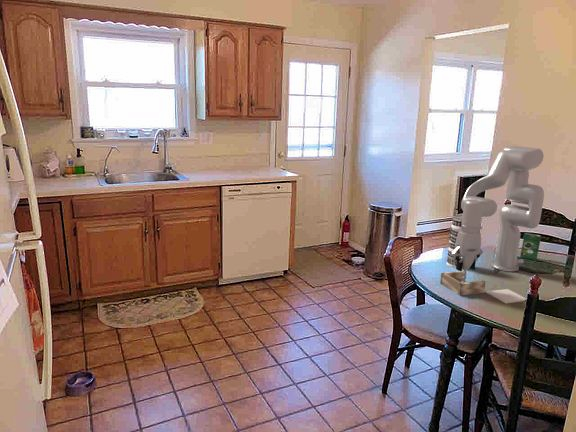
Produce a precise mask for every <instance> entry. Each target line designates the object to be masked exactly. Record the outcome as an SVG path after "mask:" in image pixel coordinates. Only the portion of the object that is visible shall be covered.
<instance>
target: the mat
mask: <svg viewBox="0 0 576 432" xmlns="http://www.w3.org/2000/svg"><path fill="white" fill-rule="evenodd" d="M486 294H488V295H490V296H491V297H493V298H495V299H497V300H498V301H500V302H503V303H504V304H513V303H520V302H526V301H525V300H526V299H527V298H526V297H524V296H522V295H521V294H518V293H517V292H514V291H512V290H510V289H509V288H505V289H496V290H488V291H486Z"/></svg>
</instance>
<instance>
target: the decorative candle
mask: <svg viewBox="0 0 576 432" xmlns="http://www.w3.org/2000/svg"><path fill="white" fill-rule="evenodd" d="M462 217H463V214H457V215H454V216H453V217H451V219H452V223H451V226H450V227H449V237H448V243H449V247H448V249H447V252H448V253H447V256H446V265H447V266H448V267H452V268H455V269H456V263H457V261H456V259H455V258H454V257H453V256H452V255H451V253H452V252H453V251H454V249H455V243H456V239H457V235H458V233H459V231H461V224H462ZM457 255H458V253H457Z"/></svg>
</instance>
